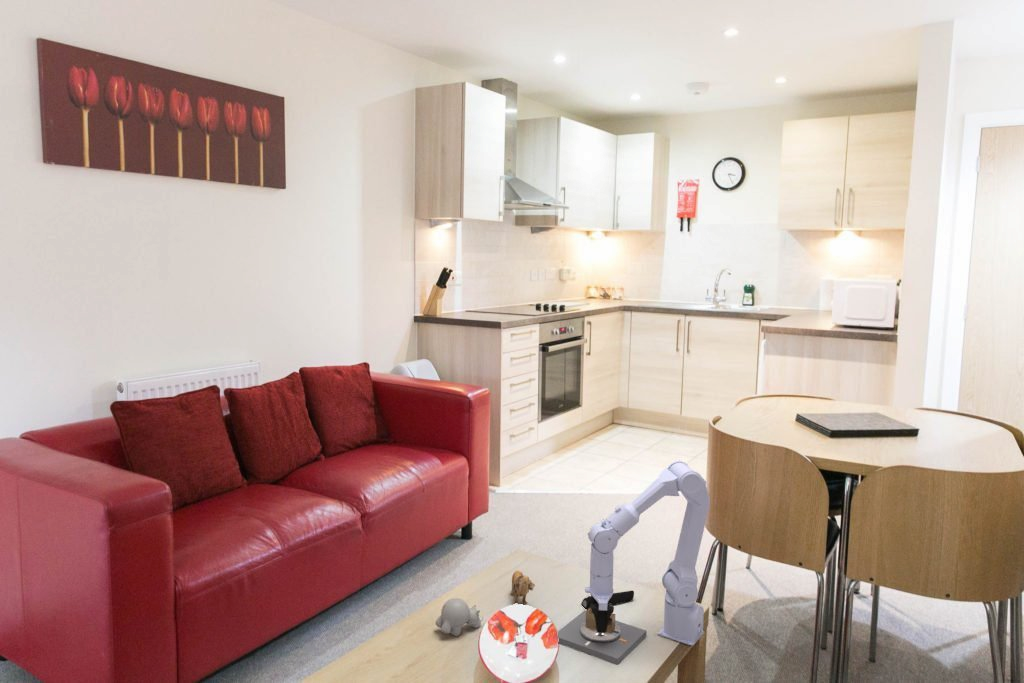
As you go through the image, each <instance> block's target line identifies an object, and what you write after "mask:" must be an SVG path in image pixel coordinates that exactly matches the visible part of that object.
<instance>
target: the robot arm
mask: <svg viewBox="0 0 1024 683" xmlns="http://www.w3.org/2000/svg"><path fill="white" fill-rule="evenodd" d="M679 492H680V493H681V494H682V496H683V498H685V500H686V501H687V503H686V507H685V511H684V516H683V521H682V524H681V529H680V533H679V538H678V543H677V546H676V550H675V555H674V559H673V560H671V561H670V562H669V563H668V567H667V569H666V570H665V571H664V573H663V575H662V579H661V581H662V586H663V587H664V589H665V595H664V608H663V609H664V613H663V627H662V628H661V629H659V631H658V632H657V635H658V636H660V637H664V638H667V639H669V640H673V641H676V642H679V643H682V644H686V645H689V646H693V647H694V646H695V644H696V643H697V642H698V640H700V638H701V637H702V636H703V635H704V634H705V631H704V614H705V613H704V607H703V606H702V605H700V604H698V603H696V601H697V599H698V598H699V592H698V581H699V580H698V576H697V571H696V566H697V561H698V557H699V552H700V549H701V543H702V539H703V536H704V531H705V527H706V526H705V525H706V522H707V517H708V515H709V514H708V512H709V510H710V505H711V498H710V495H709V494H710V493H709V492H708V487H707V481H706V480H705V478H704V477H703V476H702V475H701V474H700V473H699V472H697V471H695V470H694V469H693V468H691V467H690V466H689V465H688V464H687V463H686V462H683V461H680V460H677V461H673V462H671V463H670V464H669V465H668V467H666V468H664V469H663V470H661V472H660V474H659V475H658V477H657V478H656V479H655V480H654V481H653V482H651V484H649V486H648V487H646V488H645V490H644V491H642V492H641V493H640V494H639V495H638V496H637V497H636V498H635V499H634V500H633V501H632V502H631V503H622V504H621V505H617V506H616V507H614V509H615V510H614V511H613V512H612V513H611V514H610V515H608V516H607V517H606V518H605V519H604V518H603V519H602V520H601V521H600V522H599V523H595V524H593V526H591V528H590V529H589V530H590V531H589V532H587V537H588V539H589V541H590V542H591V544H590V556H589V557H590V560H589V561H590V564H589V567H590V568H589V570H590V571H589V586H586V587H584V591H585V593H586V594H590V596H591V597H592V600H593V604H591V610H592V612H593V614H594V617H595V622H596V629H597V632H603V633H605V632H606V630H607V626H608V622H609V618H610V616H611V614H612V613H613V614H614V610H615V607H614V606H615V605H607V603H608V601H609V600H610V598H611V596H612V595H613V593H614V588H613V587H614V559H615V558H614V550H615V549H617V546H618V542H619V540H620V539H621V538H622V537H623V536H624V535H625V534H626V533H628V532H629V531H630V530H632V529H633V527H635V526H636V525H637V524H638V523H639V522H640V516H641V515H642V514H643V513H644V512H645V511H646V510H648V509H649V508H651V507H652V506H653V505H655V504H656V503H657V502H658V501H660V500H661V499H662V498H664V497H665V496H666V497H667V496H669V497H680V493H679Z"/></svg>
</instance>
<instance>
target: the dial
mask: <svg viewBox="0 0 1024 683" xmlns="http://www.w3.org/2000/svg"><path fill="white" fill-rule="evenodd" d="M585 611H586V621H584V622H583V623H582V624H581V626H580V632H581V634H582V635H583V636H584V637H585V638H587V639H589V640H591V641H595V642H610V641H614V640H616V639H617V638H618V637H619V636H620V627H619V625H618V624H616V623H615V620H616V614H615V613H614V612H613V613H612V614H611V616H610V618H609V622H608V626H607V630H606V632H605V633H603V632H597V629H596V622H595V617H594V614H593V612H592V610H591V608H589V609H588V610H585Z"/></svg>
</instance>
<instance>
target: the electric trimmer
mask: <svg viewBox="0 0 1024 683" xmlns="http://www.w3.org/2000/svg"><path fill="white" fill-rule="evenodd" d="M634 597H635V590H626V591H620V592H613V595H612V596H611V598H610V600H609V601H608V603H607V606H609V605H612V604H613V605H612V606H616V605H618V604H621V603H625V602H629V601H632V600H633V599H634ZM591 604H593V600H592V597H591V595H588V596H586V597H584V598H583V600H582V601H581V603H580V605H582V606H583V607H584V608H585V609H589V608H591ZM582 606H581V607H582ZM583 607H582V608H583ZM584 608H583V609H584ZM585 609H584V610H585Z"/></svg>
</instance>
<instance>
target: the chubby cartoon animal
mask: <svg viewBox="0 0 1024 683" xmlns="http://www.w3.org/2000/svg"><path fill="white" fill-rule="evenodd" d="M476 607H477V605H475V604H474V605H473V606H472V607H470V608H469V606H468V604H467V602H466V601H464V599H462V598H458V597H453V598H451V599H448V600H447V601H446V602H445V603H444V604H443V605H442V608H441V612H440V613H441V614H440V616H439V617H437V619H436V621H435V625H436V626H437V627H438V628H440V631H441V633H443V634H447V635H448V634H451V635H453V636H454V637H458V636H460V635H461V633H462V627H463V626H464V625H465V624H466V625H468V626H471V627H472V628H475V629H477V628H479V627H480V626H481V625H482V622H483V621H484V615H482V616H480V609H479V610H477V609H476Z"/></svg>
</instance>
